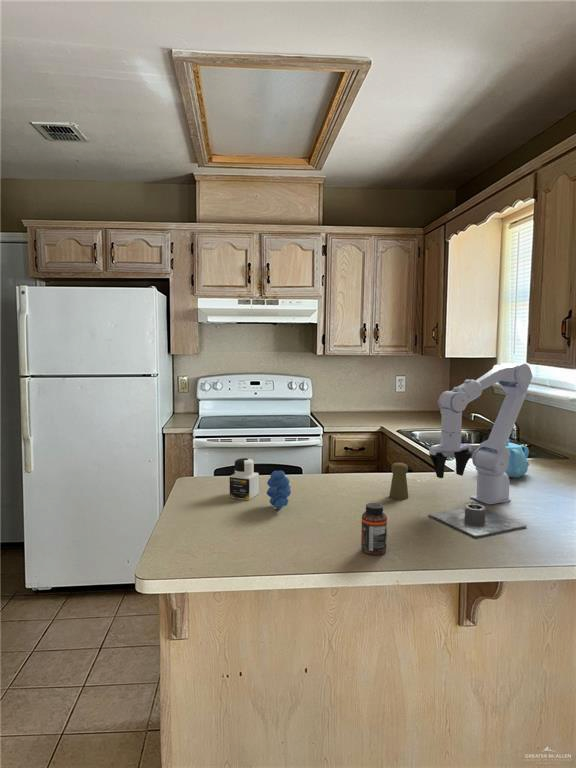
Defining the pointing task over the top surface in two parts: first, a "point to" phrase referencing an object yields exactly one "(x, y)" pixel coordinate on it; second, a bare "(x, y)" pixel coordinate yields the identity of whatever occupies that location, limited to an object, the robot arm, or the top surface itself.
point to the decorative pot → (517, 460)
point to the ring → (475, 513)
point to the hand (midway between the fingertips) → (449, 476)
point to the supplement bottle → (374, 530)
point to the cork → (399, 482)
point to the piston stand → (488, 527)
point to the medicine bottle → (244, 480)
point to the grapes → (278, 489)
